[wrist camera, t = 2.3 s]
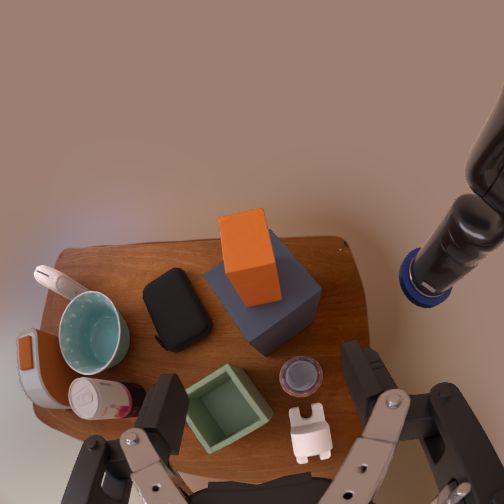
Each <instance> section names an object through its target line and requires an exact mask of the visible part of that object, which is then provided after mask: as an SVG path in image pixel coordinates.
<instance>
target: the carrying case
mask: <svg viewBox="0 0 504 504" xmlns="http://www.w3.org/2000/svg"><path fill="white" fill-rule="evenodd" d="M143 300H144V302H145V304H146V307H147V309H148V312H149V314H150V316H151V319H152V321H153V323H154V325H155V328H156V330H157V332H158V334H159V337H160V339H161V340H160V339H159V338H158V337H157V336H155V339H156V340H157V341H158V342H159V344H160V345H161V346H162V347H163V348H165V349H167V351H168V350H169V351H171V352H179V351H181V350H183V349H185V348H186V347H188V346H190V345H191V344H193V343H195V342H196V341H198V340H200V339H202V338H203V337H205V336H207V335H208V334H209V333H210V331H211V329H212V322H211V319H210V317H209V316H208V314H207V312H206V310H205V309H204V307H203V305H202V303H201V301H200V300H199V298H198V296H197V294H196V292H195V291H194V289H193V287H192V285H191V283H190V281H189V279H188V277H187V276H186V274H185V272H184V271H183V270H182V269H180V268H173V269H171V270H169V271H168V272H166V273H165V274H163V275H161V276H160V277H158V278H157V279H155V280H154V281H152V282H151V283H149V284H148V285H146V287H145V288H144V290H143Z"/></svg>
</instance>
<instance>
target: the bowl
mask: <svg viewBox="0 0 504 504" xmlns="http://www.w3.org/2000/svg"><path fill="white" fill-rule="evenodd" d="M59 343H60V349H61V352H62V355H63V357H64V359H65V361H66V362H67V364H68V365H69V366H70V367H71V368H72V369H73V370H75V371H76V372H78V373H80V374H84V375H94V374H97V373H100V372H102V371H105V370H107V369H109V368H111V367H113V366H115V365H117V364H119V363H120V362H121V361H122V360H123V359H124V357H125V356H126V354H127V352H128V349H129V344H130V333H129V329H128V326H127V324H126V322H125V320H124V319H123V317H122V316H121V314H120V312H119V311H118V309H117V308H116V306H115V305H114V304H113V302H112V301H111V300H110V299H109V298H108V297H107V296H106V295H104V294H102V293H100V292H97V291H87V292H84V293H82V294H80V295H78V296H77V297H75V298H74V299H73V300H72V301H71V302H70V303H69V305H68V306H67V308H66V309H65V311H64V313H63V316H62V319H61V322H60V328H59Z"/></svg>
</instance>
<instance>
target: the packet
mask: <svg viewBox="0 0 504 504" xmlns="http://www.w3.org/2000/svg"><path fill="white" fill-rule="evenodd" d="M219 227H220V235H221V244H222V251H223V259H224V267H225V273H226V275H227V276H228V278H229V280H230V281H231V283H232V285H233V286H234V288H235V289H236V291H237V293H238V294H239V296H240V297H241V299H242V301H243V302H244V304H245V305H246V307H252V306H257V305H262V304H266V303H271V302H276V301H281V300H282V296H281V290H280V284H279V278H278V273H277V267H276V262H275V257H274V253H273V248H272V244H271V239H270V235H269V231H268V226H267V222H266V218H265V214H264V209H263V208H259V209H254V210H250V211H246V212H241V213H237V214H232V215H228V216H224V217H220V218H219Z"/></svg>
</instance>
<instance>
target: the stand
mask: <svg viewBox="0 0 504 504" xmlns="http://www.w3.org/2000/svg"><path fill="white" fill-rule="evenodd" d="M268 231H269V235H270V239H271V244H272V248H273V253H274V257H275V262H276V267H277V273H278V278H279V284H280V290H281V296H282V300H281V301H276V302H271V303H266V304H262V305H257V306H252V307H246V305H245V304H244V302H243V301H242V299H241V297H240V296H239V294H238V293H237V291H236V289H235V288H234V286H233V285H232V283H231V281H230V280H229V278H228V276H227V275H226V273H225V267H224V260H223V261H222V262H220V263H219V264H217V265H216V266H214V267H213V268H212V269H210V270H209V271H207V272H206V273H204V274H203V276H204V278H205V279H206V281H207V282H208V284H209V285H210V287H211V288H212V290H213V291H214V293H215V294H216V296H217V297H218V299H219V300H220V302H221V303H222V305H223V306H224V308H225V309H226V311H227V312H228V314H229V315H230V317H231V318H232V320H233V321H234V323H235V324H236V325H237V327H238V328H239V330H240V331H241V333H242V334H243V335H244V337H245V338H246V340H247V341H248V342H249V343H250V344H251V345H252V346H253V347H254V348H255V349H257V350H258V351H259V352H260V353H261V354H263V355H264V356H265V357H266V356H267V355H269V354H270V353H272V352H273V351H275V350H276V349H277V348H279V347H280V346H282V345H283V344H284V343H286V342H287V341H288V340H290V339H291V338H293V337H294V336H295V335H297V334H298V333H299V332H301V331H302V330H303V329H305V328H306V327H307V326H309V325H310V324H311V323H312V322H314V318H315V314H316V311H317V307H318V303H319V299H320V296H321V292H322V288H321V287H320V285H319V284H318V283H317V282H316V281H315V280H314V278H313V277H312V276H311V275H310V274H309V273H308V272H307V270H306V269H305V268H304V267H303V266H302V265H301V263H300V262H299V261H298V260H297V259H296V258H295V257H294V255H293V254H292V253H291V252H290V251H289V250H288V249H287V247H286V246H285V245H284V244H283V243H282V242H281V241H280V240H279V238H278V237H277V236H276V235H275V234H274V233H273V232H272V231H271V229H269V230H268Z"/></svg>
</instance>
